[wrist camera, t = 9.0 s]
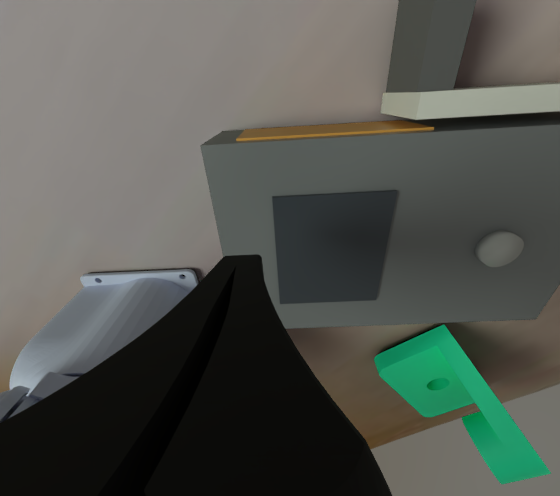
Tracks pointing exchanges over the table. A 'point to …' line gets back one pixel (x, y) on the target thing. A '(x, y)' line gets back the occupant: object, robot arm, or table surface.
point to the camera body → (395, 217)
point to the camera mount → (459, 400)
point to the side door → (448, 69)
